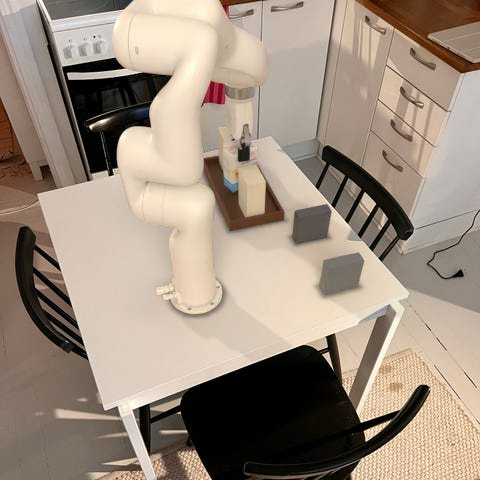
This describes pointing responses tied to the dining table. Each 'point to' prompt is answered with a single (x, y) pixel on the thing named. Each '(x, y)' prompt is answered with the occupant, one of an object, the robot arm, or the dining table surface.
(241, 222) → the book tray
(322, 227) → the gray bookends
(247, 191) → the white books
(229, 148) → the ink box
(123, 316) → the dining table surface
